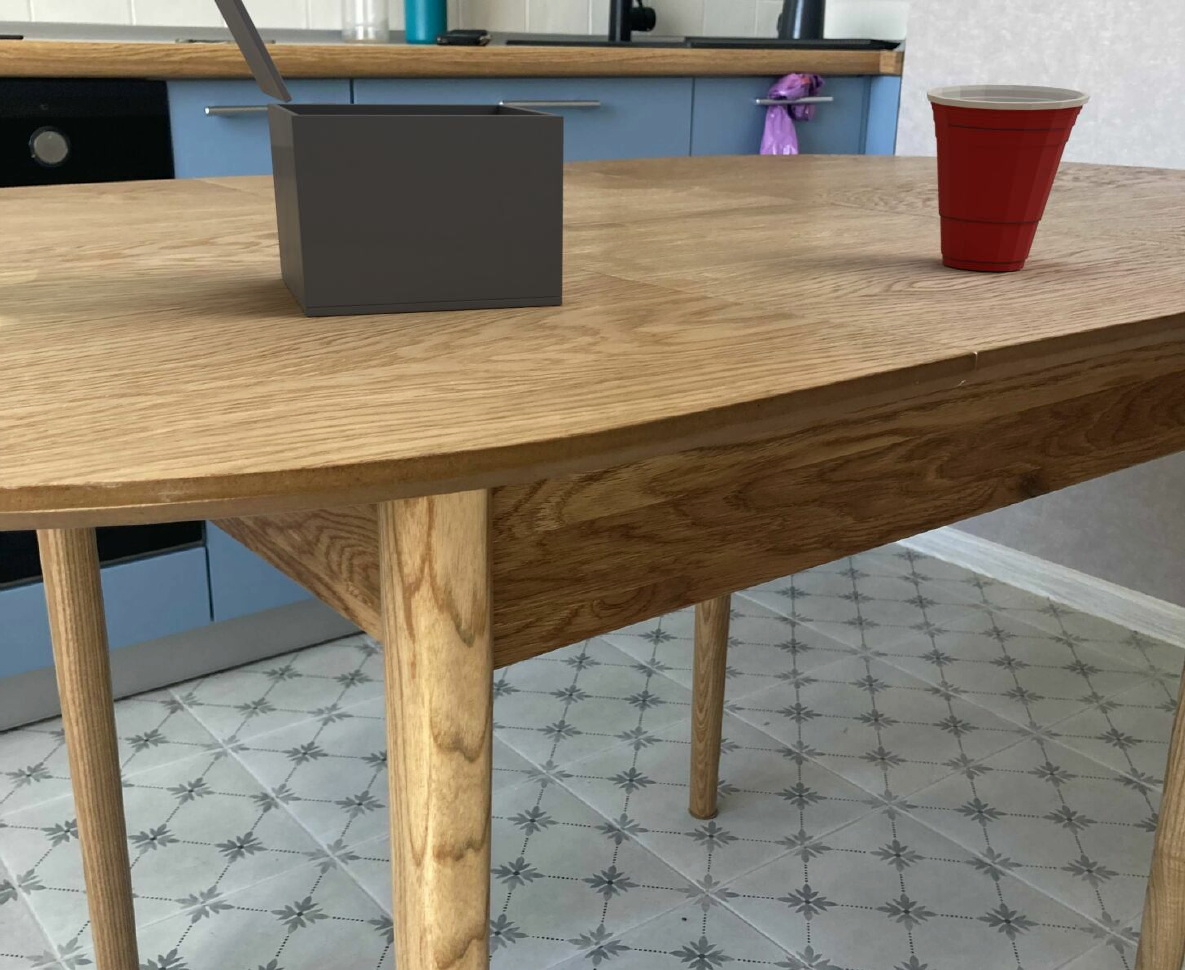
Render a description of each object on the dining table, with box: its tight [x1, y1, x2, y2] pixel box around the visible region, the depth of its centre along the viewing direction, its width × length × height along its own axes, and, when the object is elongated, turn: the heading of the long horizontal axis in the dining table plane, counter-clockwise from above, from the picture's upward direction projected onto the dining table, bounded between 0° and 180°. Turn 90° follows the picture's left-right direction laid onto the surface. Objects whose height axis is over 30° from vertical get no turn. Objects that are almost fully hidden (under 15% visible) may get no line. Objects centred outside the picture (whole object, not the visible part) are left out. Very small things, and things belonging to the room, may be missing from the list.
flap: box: [213, 0, 293, 104], centre depth 69 cm, size 7×13×1 cm
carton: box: [266, 102, 565, 318], centre depth 76 cm, size 15×13×10 cm
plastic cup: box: [926, 84, 1091, 272], centre depth 88 cm, size 11×11×12 cm
